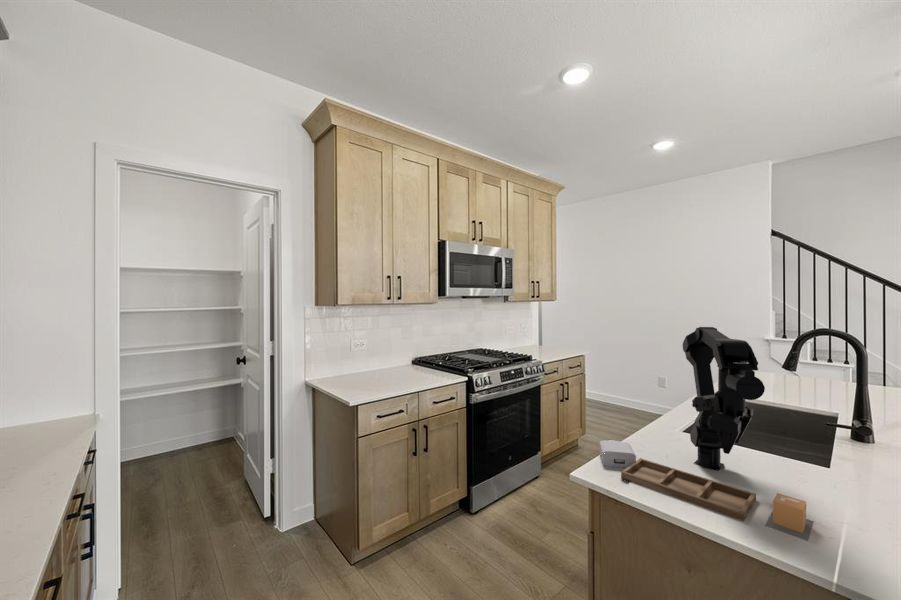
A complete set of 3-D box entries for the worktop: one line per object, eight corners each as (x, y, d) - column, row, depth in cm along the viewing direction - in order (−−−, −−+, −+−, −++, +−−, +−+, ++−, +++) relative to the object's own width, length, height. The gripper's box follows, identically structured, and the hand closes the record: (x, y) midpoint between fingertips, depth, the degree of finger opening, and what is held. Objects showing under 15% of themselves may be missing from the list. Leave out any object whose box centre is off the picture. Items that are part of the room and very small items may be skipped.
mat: (773, 510, 92) (773, 508, 92) (813, 523, 86) (813, 521, 86) (764, 528, 85) (764, 525, 85) (807, 543, 80) (807, 540, 80)
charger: (626, 449, 129) (636, 469, 114) (597, 446, 131) (602, 466, 117) (626, 435, 129) (635, 453, 114) (597, 433, 131) (602, 450, 116)
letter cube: (777, 514, 89) (777, 492, 89) (806, 523, 86) (806, 501, 85) (772, 522, 86) (773, 500, 86) (803, 533, 82) (803, 509, 82)
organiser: (640, 465, 116) (640, 458, 116) (756, 502, 95) (756, 493, 95) (621, 479, 108) (621, 471, 108) (743, 523, 87) (743, 514, 87)
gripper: (706, 377, 112) (705, 429, 112) (684, 389, 99) (684, 449, 100) (754, 384, 103) (753, 441, 104) (737, 398, 91) (736, 463, 91)
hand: (731, 447), depth 100 cm, fingers open, 9 cm apart
